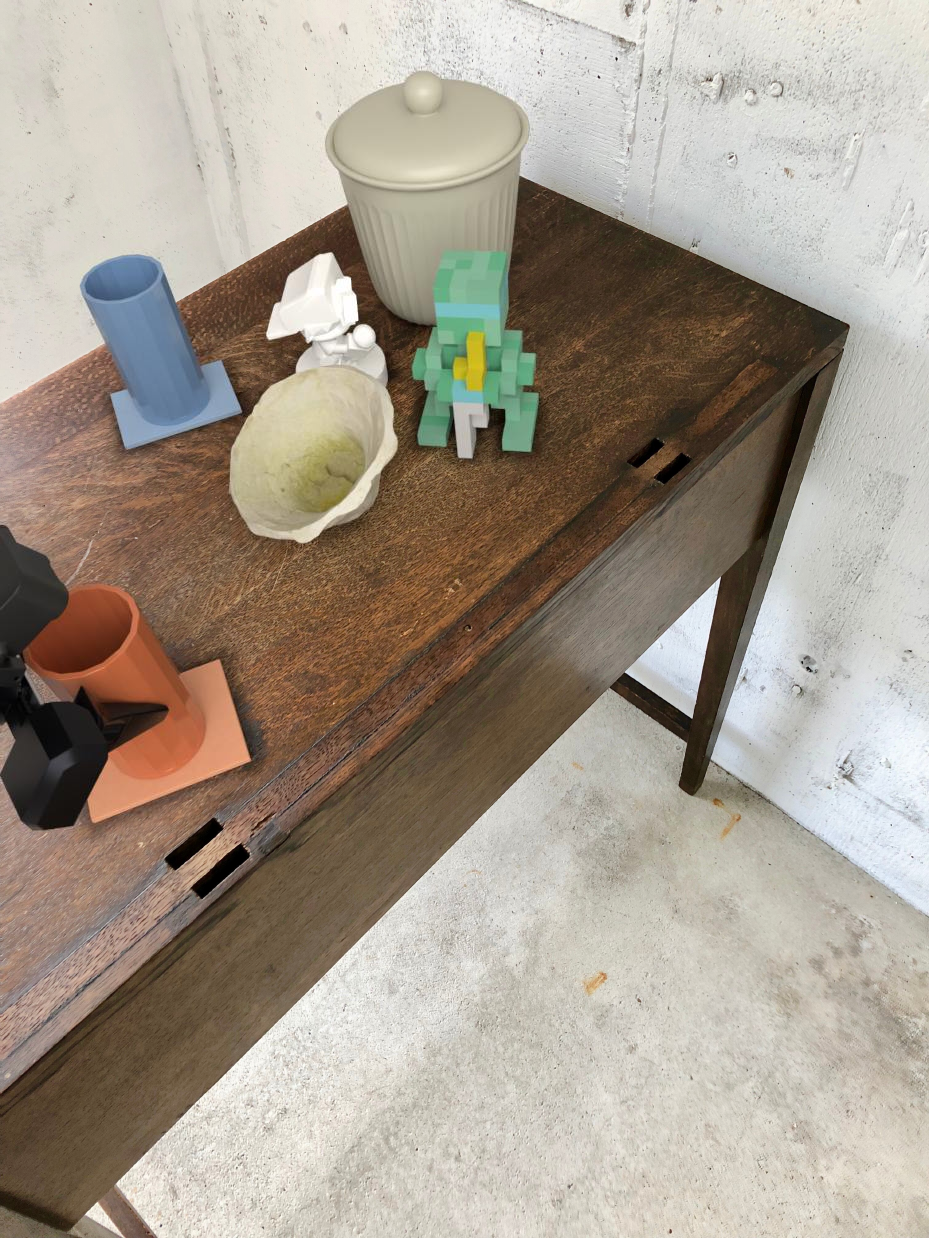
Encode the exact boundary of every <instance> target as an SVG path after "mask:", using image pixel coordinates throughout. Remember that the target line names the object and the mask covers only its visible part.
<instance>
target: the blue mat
mask: <svg viewBox="0 0 929 1238" xmlns="http://www.w3.org/2000/svg"><path fill="white" fill-rule="evenodd" d="M200 367H201V369H202V372H203V375H204V377H205V380H206V382H207V385H208V388H209V391H210V400H209V403H208V404H207V406H206V408H205V409H204V410H203V411H202V412H201V413H200V414H199V415H197V416H196V417H194V418H192V419H191V420H188V421H186V422H184V423H180V424H177V425H170V426H160V425H154V424H151V423H149V422H147V421H146V420H144V419H143V418H142V417H141V415H140V414H139V412H138V411H137V408H136V406H135V404H134V402H133V400H132V398H131V396H130V394H129V392H128V390H127V388H126V389H122V390H119V391H116V392H112V393H110V394H109V395H110V399H111V402H112V403H111V404H112V406H113V410H114V414H115V417H116V421H117V424H118V427H119V432H120V435H121V439H122V442H123V445H124V448H125V450H126V451H128V450H132V449H135V448H137V447H141V446H144V445H147V444H150V443H153V442H157V441H160V440H162V439H165V438H169V437H173V436H175V435H177V434H178V435H179V434H181V433H184V432H187V431H190V430H193V429H196V428H199V427H202V426H206V425H209V424H213V423H215V422H218V421H221V420H225V419H227V418H231V417H234V416H237V415H240V414H242V413H243V410H242V407H241V405H240V402H239V400H238V397H237V395H236V393H235V390H234V388H233V386H232V382H231V380H230V377H229V375H228V373H227V371H226V368H225V366H224V364H223V361H222V359H219V360H215V361H212V362H210V363H205V364H202V365H200Z"/></svg>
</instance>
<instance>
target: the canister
mask: <svg viewBox="0 0 929 1238" xmlns="http://www.w3.org/2000/svg"><path fill="white" fill-rule="evenodd" d="M530 126H531V125H530V121H529V118H528V115H527V113H526V112H525V110H524V109H523V108H522V107H521V106H520V105H519V104H518V103H517V102H516V101H514V100H513V99H512V98H510V97H508V96H506V95H504V94H502V93H500V92H498V91H496V90H495V89H492V88H490V87H488V86H486V85H483V84H480V83H476V82H472V81H467V80H460V79H451V78H440V77H439V76H438V75H437V74H435V73H434V72H432V71H430V70H417V71H415V72H413V73H411V74H409V75H408V76H407V77H406V78H405V80H404V82H401V83H397V84H393V85H389V86H385V87H383V88H381V89H378V90H376V91H373V92H372V93H369V94H367V95H365V96H363V97H362V98H360V99H359V100H358V101H356V102H355V103H353V104H352V105H351V106H350V107H348V109H346V110H345V111H343V112H342V113H341V114H340V115H339V116H337V118H336V119H335V120H334V121H333V122H332V123H331V125H330V126H329V127H328V130H327V131H326V135H325V139H324V149H325V153H326V157H327V158H328V160H329V161H330V163H331V164H332V166H333V167H334V168H335V169H336V170H337V171H338V175H339V180H340V182H341V186H342V190H343V193H344V196H345V199H346V203H347V205H348V206H347V207H348V210H349V213H350V216H351V219H352V224H353V227H354V230H355V234H356V237H357V240H358V243H359V247H360V251H361V252H362V256H363V259H364V263H365V265H366V266H365V267H366V269H367V272H368V275H369V277H370V280H371V283H372V286H373V288H374V290H375V292H376V293H375V294H376V295H377V297H378V298H379V300H380V301H381V303H382V304H383V305H384V306H385V308H386V309H388V310H389V311H390V312H391V313H392V314H393V315H395V316H396V317H399V318H400V319H401V320H405V321H407V322H409V323H414V324H417V325H419V326H420V325H425V326H427V327H428V326H433V327H437V321H436V312H435V302H434V293H433V286H434V283H435V279H436V276H437V273H438V269H439V266H440V262H441V259H442V255H443V252H444V250H459V251H494V252H507V262H508V273H509V272H510V267H511V259H512V252H513V243H514V235H515V234H514V233H515V227H516V226H515V225H516V217H517V206H518V205H517V203H518V194H519V193H518V192H519V183H520V173H521V162H522V161H521V160H522V151H523V150H524V148H525V147H526V144H527V143H528V140H529V137H530V134H531V133H530V132H531V127H530Z"/></svg>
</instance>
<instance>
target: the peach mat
mask: <svg viewBox="0 0 929 1238" xmlns="http://www.w3.org/2000/svg"><path fill="white" fill-rule="evenodd" d="M179 673H180V674H181V676H182V678H183V679H184V681H185V683H186V684H187V686H188V687H189V689H190V691H191V692H192V694H193V696H194V697H195V699H196V700H197V702H198V704H199V706H200V708H201V710H202V712H203V714H204V717H205V722H206V731H205V736H204V740H203V742H202V745H201V747H200V748H199V750H198V752H197V753H196V754H195V756H194V757H193V758H192V759H191V760H190V761H189V762H188V763H187V764H186V765H185V766H183V767H182V768H180V769H179V770H177V771H176V772H174V773H172V774H170V775H167V776H164V777H161V778H157V779H148V780H145V779H136V778H132V777H130V776H127V775H125V774H124V773H122V772H121V771H120V770H119V769H118V768H117V767H116V766H115V765H114V764H113V763H112V762H111V761H110V760H109V759H108V761H107V762H106V764H105V766H104V768H103V770H102V772H101V774H100V776H99V778H98V780H97V782H96V784H95V786H94V788H93V790H92V791H91V793H90V795H89V797H88V799H87V805H88V810H89V815H90V821H91V822H92V823H93V824H96V823H99V822H101V821H103V820H106V819H109V818H111V817H114V816H117V815H119V814H121V813H124V812H126V811H130V810H132V809H134V808H137V807H139V806H142V805H144V804H146V803H149V802H151V801H155V800H157V799H159V798H161V797H164V796H167V795H170V794H172V793H175V792H177V791H180V790H182V789H185V788H187V787H189V786H193V785H195V784H197V783H199V782H202V781H204V780H207V779H209V778H212V777H214V776H217V775H219V774H223V773H225V772H227V771H230V770H232V769H235V768H237V767H240V766H242V765H245V764H247V763H250V762H252V758H251V755H250V752H249V748H248V744H247V742H246V739H245V735H244V732H243V728H242V725H241V722H240V718H239V716H238V713H237V709H236V706H235V702H234V699H233V696H232V693H231V690H230V686H229V683H228V680H227V677H226V673H225V670H224V667H223V663H222V661H221V659H219V658H217V659H215V660H211V661H210V662H207V663H205V664H202V665H199V666H196V667H194V668H190V669H188V670H186V671H183V672H179Z"/></svg>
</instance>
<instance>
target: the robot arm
mask: <svg viewBox="0 0 929 1238" xmlns="http://www.w3.org/2000/svg"><path fill="white" fill-rule="evenodd" d="M68 590H69V589H67V586H66V585H65V583H63V582H62V581H61V580H60V578H59V576H58V575H57V574H56V572H55V570H54V568H53V567H52V565H51V560H50V558H49V557H48V556H47V555H46V554H44V553H42V552H40V551H37V550H35V549H34V548H31V547H29V546H26V545H24V544H22V543H20V542H18V541H17V540H16V538H15V537H14V534H13V533H12V531H11V530H10V528H9V526H7V525H6V524H0V727H1V726H4V725H5V724H6V725H7V727H8V729H9V731H10V732H11V735H12V737H13V739H14V742H13V744H12V747H11V748H10V751H9V753H8V755H7V758H6V759H5V762H4V764H3V767H2V768H1V770H0V780H1V781H2V784H3V786H4V788H5V789H6V792H7V795H8V796H9V799H10V800H11V803H12V805H13V807H14V809H15V812H16V813H17V816H18V818H19V820H20V822H22V824H23V825H25V826H26V827H27V828H29V829H30V830H31V831H36V832H38V831H50V830H57V829H64V828H70V827H74V826H75V824H76V822H77V820H78V819H79V816H80V814H81V813H82V811H83V809H84V807H85V805H86V803H87V802H88V797H89V795H90V793H91V791H92V790H93V788H94V786H95V784H96V782H97V780H98V778H99V776H100V774H101V772H102V770H103V768H104V766H105V764H106V762H107V761H108V753H110V752H111V751H113V750H115V749H116V748H118V747H120V746H121V745H123V744H125V743H126V742H128V741H130V740H132V739H133V738H135V737H137V736H139V735H140V734H142V733H144V732H145V731H147V730H149V729H151V728H152V727H154V726H156V725H157V724H159V723H161V722H162V721H164V719H165V718H166V716H167V714H168V712H169V708H168V707H167V705H162V704H154V703H123V702H98V701H96V700H95V699H94V697H93V696H92V695H91V694H90V693H89V692H88V690H87V689H86V688H85V687H84V686H80V688H79V690H78V692H77V694H76V697H75V699H74V701H73V702H70V701H58V700H56V701H48V702H45V700H44V698H43V696H42V695H41V693H40V691H39V689H38V687H37V685H36V684H35V681H34V680H33V677H32V676H31V674H30V672H29V670H28V668H27V665H26V663H25V661H24V657H23V653H22V652H23V651H24V650H25V649H26V647H27V646H28V645H29V644H30V643H31V642H32V641H33V640H34V639H35V638H36V637H37V636H38V635H39V633H40V632H41V631H42V630H43V629H44V628H45V627H46V626H47V625H48V624H49V623H50V622H51V621H52V620H55V619H57V618H58V617H59V616H60V615H61V614H62V613H63V612H64V610H65V609H66V607H67V604H68V601H69V593H68Z"/></svg>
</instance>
